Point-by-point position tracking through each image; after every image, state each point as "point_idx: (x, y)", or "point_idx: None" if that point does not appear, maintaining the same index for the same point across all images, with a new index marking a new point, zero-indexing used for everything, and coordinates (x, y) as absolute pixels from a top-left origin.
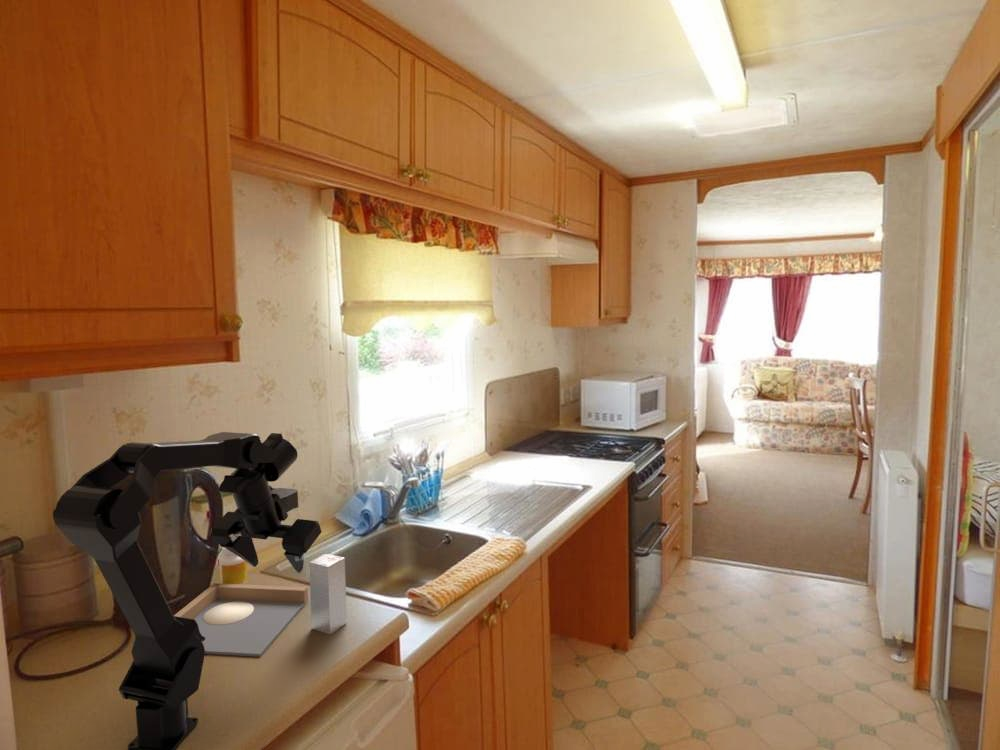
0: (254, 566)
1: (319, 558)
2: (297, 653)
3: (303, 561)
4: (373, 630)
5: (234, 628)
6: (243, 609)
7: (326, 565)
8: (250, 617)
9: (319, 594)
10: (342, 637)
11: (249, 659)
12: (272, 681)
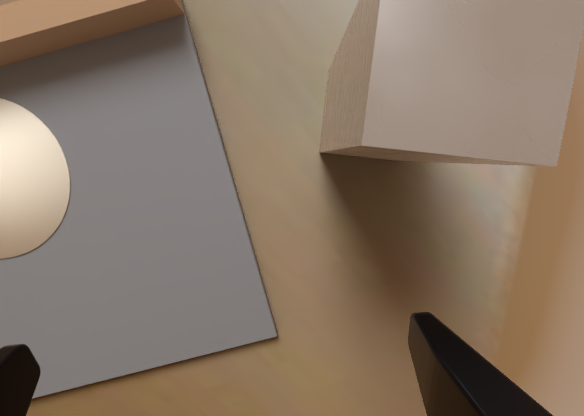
0: (37, 382)
1: (398, 52)
2: (366, 282)
3: (486, 366)
4: None
5: (91, 252)
6: (16, 143)
7: (532, 151)
8: (83, 177)
9: (392, 156)
10: None
11: (256, 351)
12: (386, 406)
